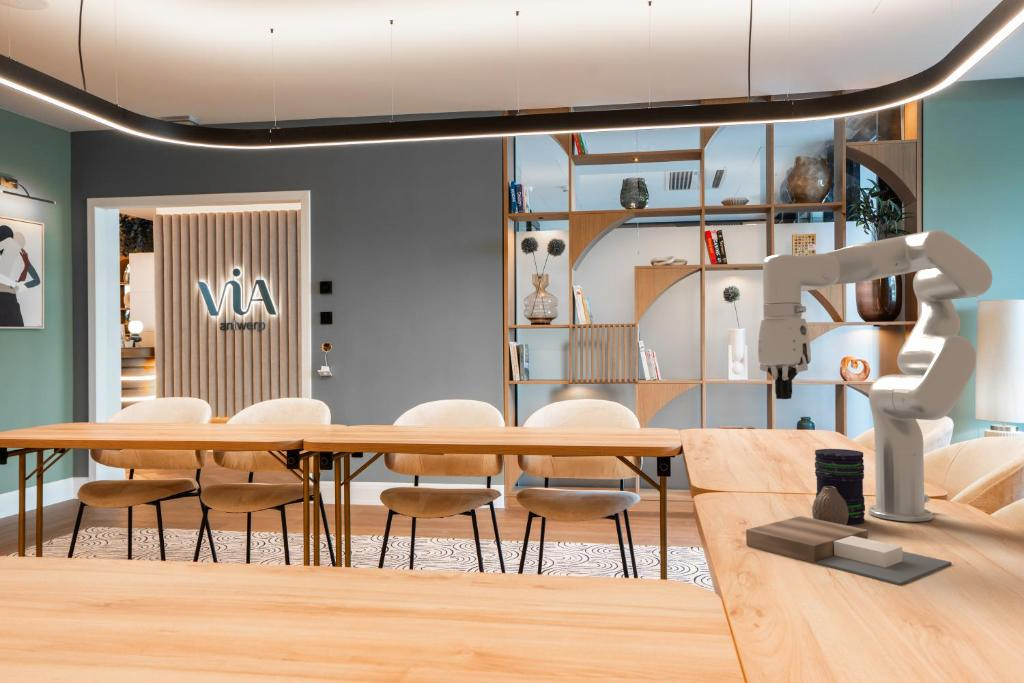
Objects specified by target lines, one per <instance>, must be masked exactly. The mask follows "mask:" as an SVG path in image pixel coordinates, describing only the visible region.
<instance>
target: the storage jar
mask: <svg viewBox="0 0 1024 683" xmlns="http://www.w3.org/2000/svg"><path fill="white" fill-rule="evenodd" d="M814 455H815V457H814V460H815V462H814V467H815V472H814V473H815V477H816V493H815V498H816V497H817V496H818V495H819V494H820V492H821V491H822V489H823V487H824V486H833V487H836V489H837V491H838V493H839V494H840V495H841V496H842V498H843V499H844V500H845V502H846V504H847V507H848V512H849V517H848V522H847V524H846V526H851V527H854V526H861V525H864V524H865V522H866V520H865V511H866V504H865V496H864V479H865V472H864V471H865V464H864V462H865V461H864V452H863V451H859V450H854V449H845V448H844V449H841V448H818V449H815V450H814Z"/></svg>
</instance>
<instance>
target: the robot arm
mask: <svg viewBox="0 0 1024 683" xmlns="http://www.w3.org/2000/svg"><path fill="white" fill-rule="evenodd" d="M913 272H914V273H915V272H916V273H915V275H914V277H913V281H912V287H913V292H914V295H915V297H916V300H917V303H918V308H919V316H918V319H917V321H916V322H915V325H914V327H913V328H912V330H911V332H910V334H909V335H908V337H907V339H906V340H905V341H904V343H903V344H902V347H901V348H900V350H899V352H898V356H897V358H896V365H897V367H898V369H899V370H900V371H901V372H902V373H903V374H901V373H900V374H899V373H898V374H897V373H896V374H895V373H893V374H887V375H886V374H885V375H883V376H880V377H877V379H874V381H873V382H872V383H871V385H870V387H869V389H868V401H869V407H870V410H871V414H872V420H873V430H874V465H875V466H874V469H875V470H874V472H875V474H874V476H875V504H873V505H871V506H869V507H868V514H870V515H872V516H873V517H876V518H879V519H883V520H884V519H885V520H890V521H899V522H910V523H911V522H914V523H918V522H928V521H931V520H933V519H934V513H933V512H932V511H930V510H928V509H926V507H925V504H926V503H929V502H930V500H931V498H930V496H929V495H928V494H925V468H924V466H925V465H924V462H925V461H924V436H923V432H922V430H921V427H920V424H919V423H918V421H917V420H922V421H937V420H941V419H943V418H945V417H947V415H948V414H949V413H950V412H951V411H952V409H953V408H954V407H955V405H956V404H957V402H958V400H959V398H960V397H961V394H962V393H963V391H964V389H965V387H966V386H967V384H968V383H969V381H970V379H971V378H972V375H973V373H974V372H975V370H976V369H975V368H976V365H977V352H976V348H975V347H974V345H973V343H972V342H971V341H970V340H968V339H967V338H966V337H964V336H960V335H958V334H959V332H960V329H961V318H960V316H959V314H958V312H957V310H956V307H955V306H954V303H953V301H952V300H956V299H959V300H960V299H968V298H970V299H971V298H977V297H979V296H982V295H984V294H985V293H987V292H988V290H989V289H990V288H991V286H992V283H993V272H992V270H991V268H990V266H989V265H988V263H987V262H985V261H984V259H983V258H981V257H980V256H979V255H978V254H976V253H975V252H974V251H972V250H971V249H970V248H969V247H967V246H966V245H965V244H964V243H963V242H961V241H959V239H957V238H955V237H954V236H952V235H951V234H948V233H947V232H945V231H942V230H939V229H931V230H926V231H922V232H916V233H911V234H905V235H902V236H901V235H900V236H896V237H891V238H884V239H878V240H873V241H868V242H863V243H858V244H853V245H850V246H845V247H842V248H840V249H839V248H838V249H837V250H832V251H828V252H823V253H815V254H805V255H795V254H791V253H788V254H787V253H783V254H775V255H774V254H773V255H770V256H769V255H768V256H766V257H765V258H764V259H763V261H762V288H763V293H762V294H763V295H762V296H763V319H762V320H760V326H759V332H758V342H757V343H758V346H757V348H758V350H757V355H758V356H757V357H758V363H760V366H759V369H760V371H763V372H766V373H769V374H770V376H771V378H772V380H774V382H775V383H774V384H775V385H774V389H775V390H774V391H775V399H777V400H791V399H792V395H793V381H794V380H795V378H796V376H797V375H798V374H799V373H803V372H806V371H807V372H808V370H809V366H808V365H809V364H810V363H811V361H812V356H811V355H812V353H811V340H810V334H809V333H810V332H809V329H808V324H807V321H806V318H802V316H803V313H806V311H807V307H806V305H805V306H804V305H802V292H806V291H807V292H808V291H815V290H823V289H826V288H829V287H831V286H836V285H847V284H858V283H863V282H869V281H875V280H876V281H877V280H879V279H884V278H889V277H890V278H891V277H894V276H899V275H905V274H910V273H913Z"/></svg>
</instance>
